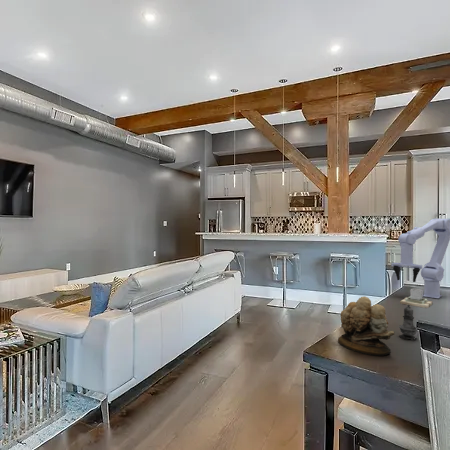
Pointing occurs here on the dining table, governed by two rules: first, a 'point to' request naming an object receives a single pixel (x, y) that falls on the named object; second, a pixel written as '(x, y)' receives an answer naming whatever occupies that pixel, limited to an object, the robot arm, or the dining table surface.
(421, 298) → the block
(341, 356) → the dining table surface
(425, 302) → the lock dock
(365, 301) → the owl figurine
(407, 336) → the grey chess piece
